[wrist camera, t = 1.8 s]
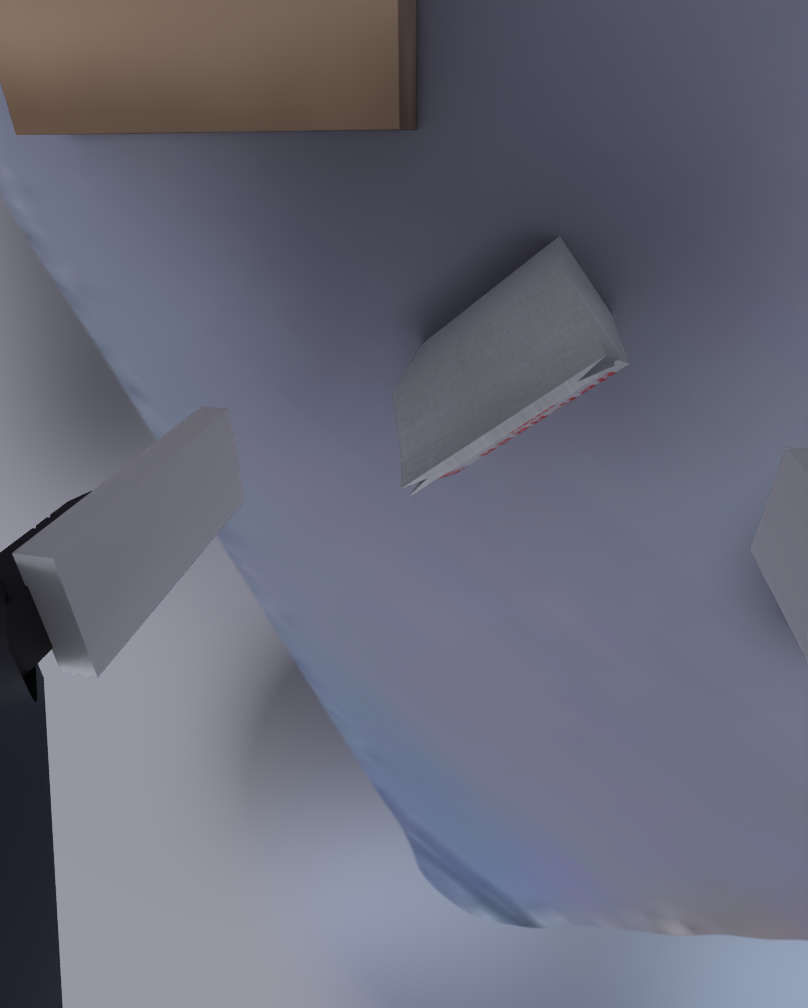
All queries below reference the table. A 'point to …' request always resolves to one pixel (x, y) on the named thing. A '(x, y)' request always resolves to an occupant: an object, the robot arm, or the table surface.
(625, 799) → the table surface
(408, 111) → the pedestal
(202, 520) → the robot arm
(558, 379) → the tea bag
